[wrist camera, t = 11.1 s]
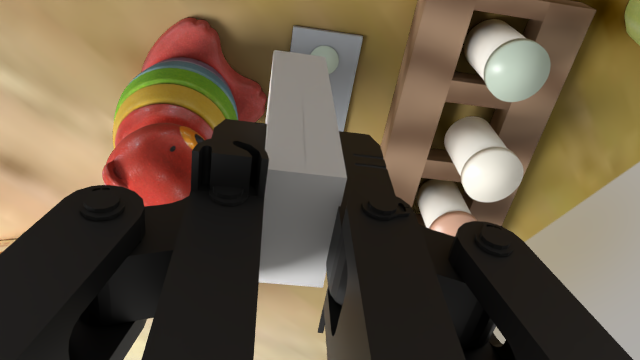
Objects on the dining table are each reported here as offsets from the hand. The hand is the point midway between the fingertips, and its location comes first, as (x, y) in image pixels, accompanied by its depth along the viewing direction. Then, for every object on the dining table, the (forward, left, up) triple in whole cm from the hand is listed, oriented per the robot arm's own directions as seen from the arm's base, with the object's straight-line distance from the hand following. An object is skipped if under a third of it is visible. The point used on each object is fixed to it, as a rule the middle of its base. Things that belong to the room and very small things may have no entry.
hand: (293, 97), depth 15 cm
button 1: (+21, +18, -29) cm, 40 cm away
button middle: (+13, +18, -26) cm, 34 cm away
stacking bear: (+13, -7, -30) cm, 33 cm away
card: (+13, +4, -29) cm, 32 cm away
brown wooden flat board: (+13, +18, -29) cm, 37 cm away
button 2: (+5, +18, -29) cm, 34 cm away
